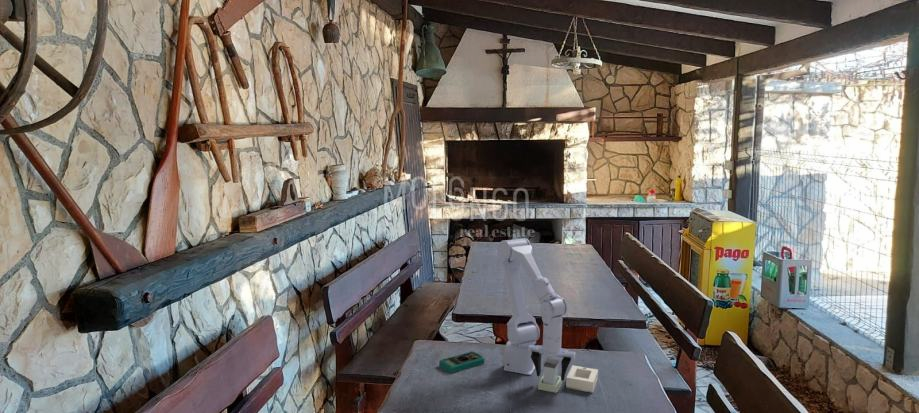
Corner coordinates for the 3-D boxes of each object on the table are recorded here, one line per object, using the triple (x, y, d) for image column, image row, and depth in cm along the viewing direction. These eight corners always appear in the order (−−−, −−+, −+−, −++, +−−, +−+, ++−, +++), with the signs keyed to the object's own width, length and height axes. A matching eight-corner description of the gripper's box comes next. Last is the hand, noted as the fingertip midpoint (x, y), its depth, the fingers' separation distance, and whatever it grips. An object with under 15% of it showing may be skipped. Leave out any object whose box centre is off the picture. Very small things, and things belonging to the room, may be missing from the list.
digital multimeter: (486, 364, 195) (486, 356, 194) (450, 375, 186) (450, 366, 185) (473, 357, 200) (473, 349, 200) (438, 367, 192) (438, 359, 191)
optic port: (566, 387, 177) (566, 376, 176) (572, 375, 186) (572, 364, 185) (592, 393, 174) (593, 381, 173) (597, 379, 183) (598, 368, 182)
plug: (542, 388, 177) (543, 364, 175) (546, 381, 181) (547, 358, 180) (554, 390, 175) (555, 366, 174) (557, 383, 180) (558, 359, 179)
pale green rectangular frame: (537, 389, 176) (538, 383, 176) (543, 379, 183) (543, 373, 183) (557, 392, 174) (557, 386, 173) (562, 382, 181) (562, 376, 180)
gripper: (526, 336, 175) (524, 378, 177) (573, 344, 169) (571, 386, 171) (532, 329, 181) (530, 369, 183) (577, 336, 176) (575, 377, 178)
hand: (550, 377), depth 178 cm, fingers open, 7 cm apart
